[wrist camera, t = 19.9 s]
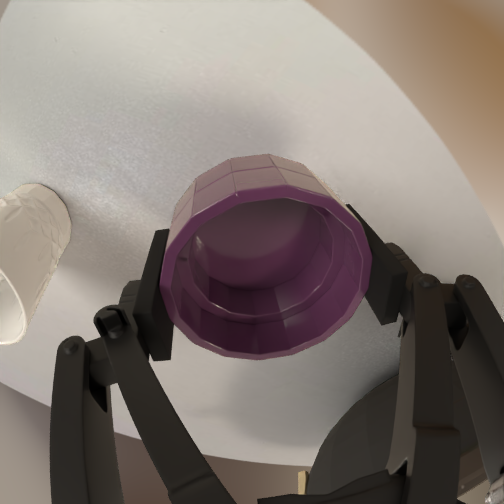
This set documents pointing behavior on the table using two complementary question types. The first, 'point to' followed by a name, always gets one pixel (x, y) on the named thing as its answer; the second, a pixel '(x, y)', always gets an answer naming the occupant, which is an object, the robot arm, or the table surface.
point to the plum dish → (262, 260)
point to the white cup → (28, 253)
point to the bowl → (383, 442)
